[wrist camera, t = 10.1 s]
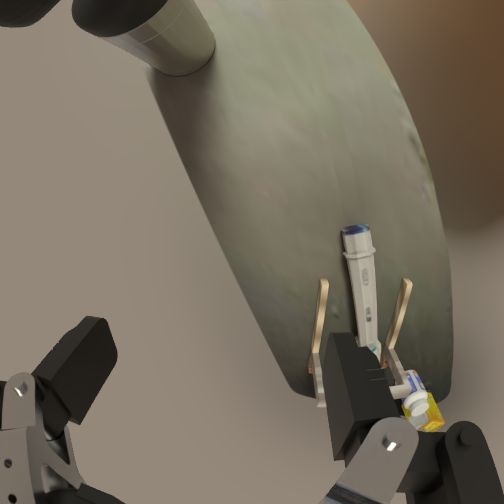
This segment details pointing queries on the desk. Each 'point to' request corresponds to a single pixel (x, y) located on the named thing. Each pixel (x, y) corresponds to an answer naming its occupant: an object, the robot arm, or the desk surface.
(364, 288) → the white electric toothbrush
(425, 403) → the pill bottle
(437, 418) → the supplement box
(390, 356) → the tan holder stand
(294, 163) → the desk surface
